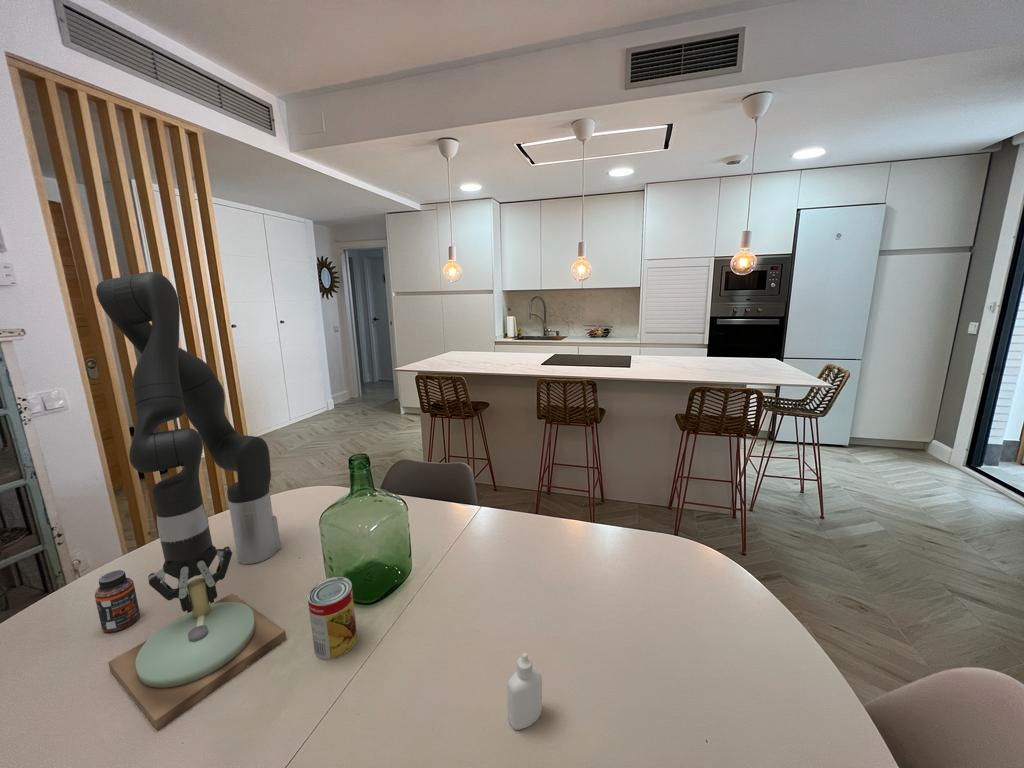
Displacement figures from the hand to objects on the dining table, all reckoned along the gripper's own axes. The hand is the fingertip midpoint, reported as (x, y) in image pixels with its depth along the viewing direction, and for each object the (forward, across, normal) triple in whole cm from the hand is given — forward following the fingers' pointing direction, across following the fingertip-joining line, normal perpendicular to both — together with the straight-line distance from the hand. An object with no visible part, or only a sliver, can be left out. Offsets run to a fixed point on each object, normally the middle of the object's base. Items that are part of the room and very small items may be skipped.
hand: (200, 605), depth 84 cm
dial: (+4, +1, +7) cm, 8 cm away
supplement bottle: (+6, +13, -15) cm, 21 cm away
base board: (+6, +1, +7) cm, 9 cm away
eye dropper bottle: (+7, -35, +58) cm, 68 cm away
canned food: (+7, -18, +22) cm, 29 cm away
